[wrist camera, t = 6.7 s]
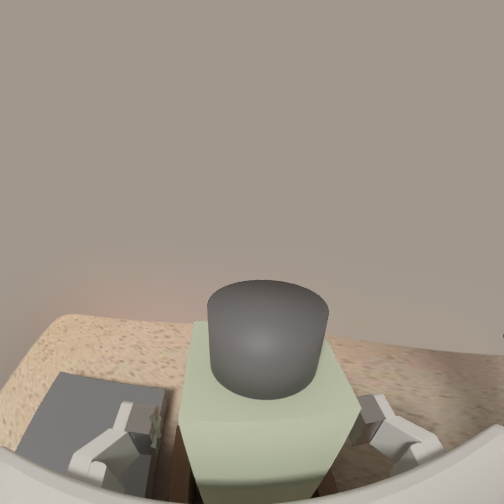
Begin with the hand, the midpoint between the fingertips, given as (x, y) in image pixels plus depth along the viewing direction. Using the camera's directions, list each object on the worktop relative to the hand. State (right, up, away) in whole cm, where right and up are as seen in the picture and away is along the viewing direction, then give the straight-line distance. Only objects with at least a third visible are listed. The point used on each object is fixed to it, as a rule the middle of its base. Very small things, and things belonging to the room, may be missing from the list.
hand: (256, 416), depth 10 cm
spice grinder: (0, -8, +2) cm, 8 cm away
